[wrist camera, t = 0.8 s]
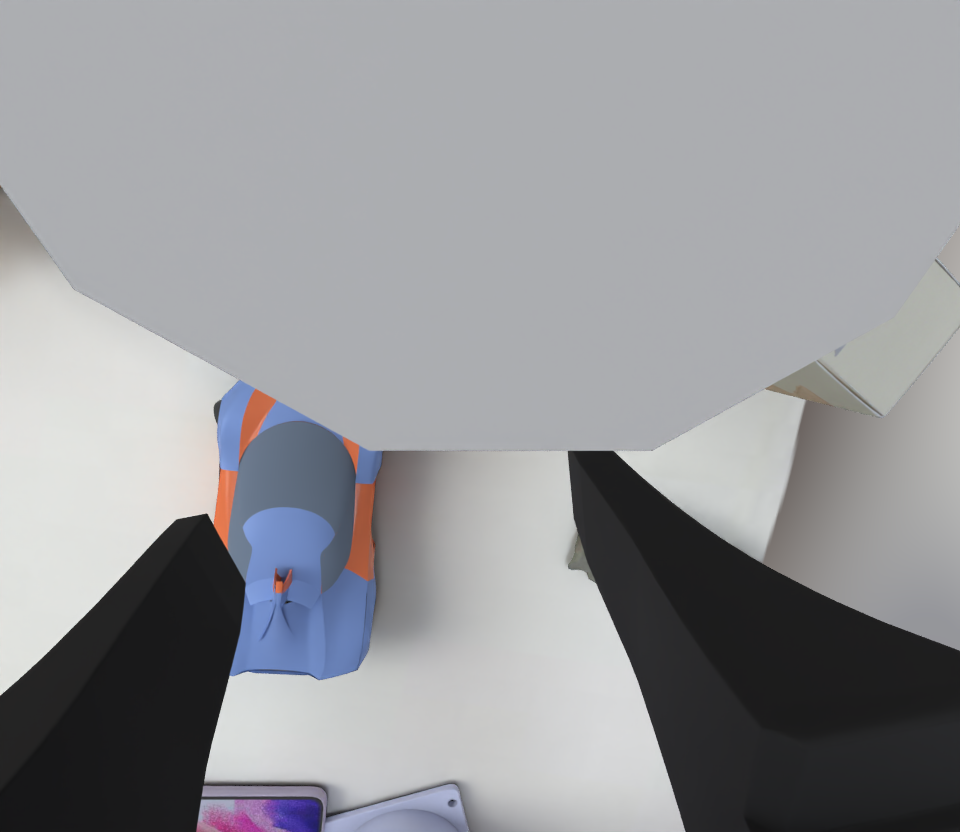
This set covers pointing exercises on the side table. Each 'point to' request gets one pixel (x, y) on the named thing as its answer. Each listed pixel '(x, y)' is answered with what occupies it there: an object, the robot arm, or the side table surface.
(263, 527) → the toy car
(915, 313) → the box
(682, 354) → the water bottle
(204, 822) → the smartphone
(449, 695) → the side table surface
